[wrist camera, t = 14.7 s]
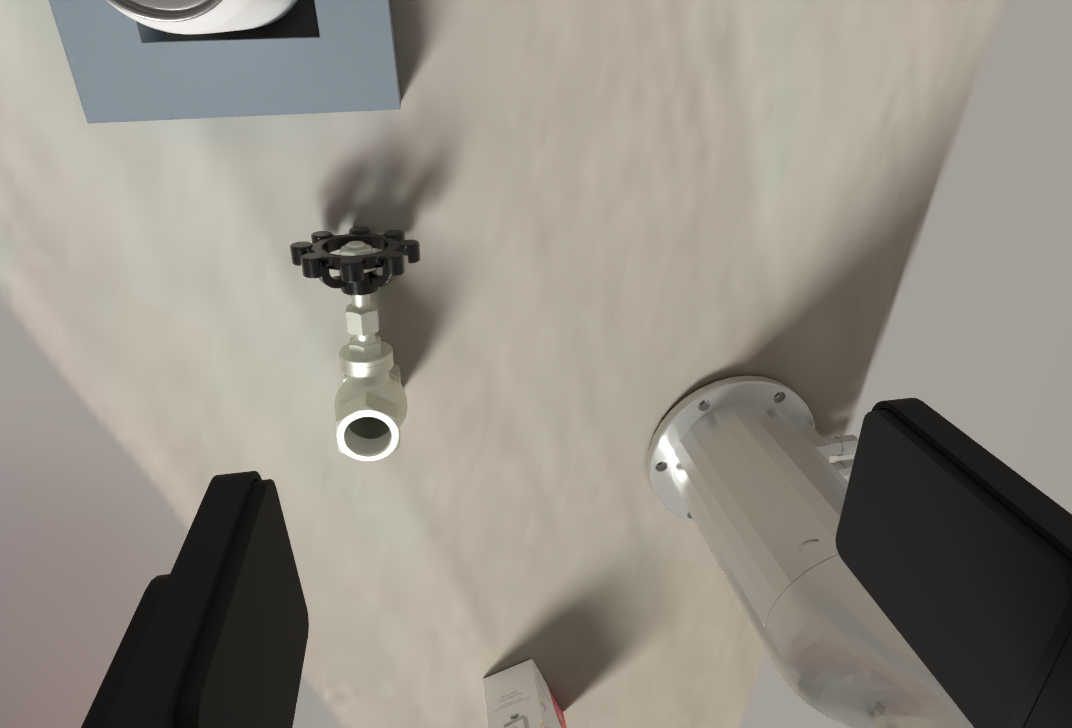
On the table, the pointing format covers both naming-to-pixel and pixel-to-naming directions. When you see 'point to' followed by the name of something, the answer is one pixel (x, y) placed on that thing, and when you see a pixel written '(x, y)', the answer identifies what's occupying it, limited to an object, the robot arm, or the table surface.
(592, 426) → the table surface
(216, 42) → the socket block
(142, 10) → the can
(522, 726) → the ink cartridge box
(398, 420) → the valve
